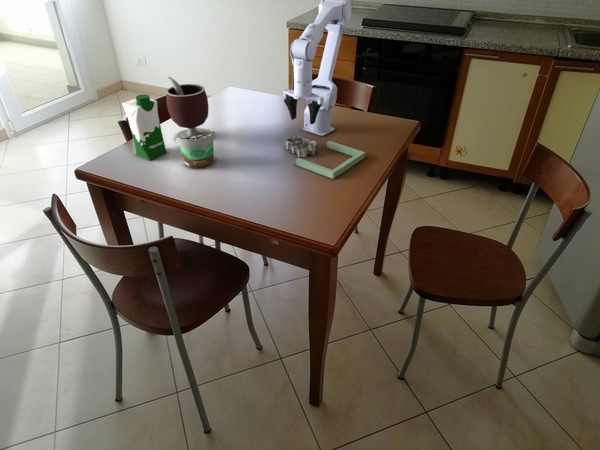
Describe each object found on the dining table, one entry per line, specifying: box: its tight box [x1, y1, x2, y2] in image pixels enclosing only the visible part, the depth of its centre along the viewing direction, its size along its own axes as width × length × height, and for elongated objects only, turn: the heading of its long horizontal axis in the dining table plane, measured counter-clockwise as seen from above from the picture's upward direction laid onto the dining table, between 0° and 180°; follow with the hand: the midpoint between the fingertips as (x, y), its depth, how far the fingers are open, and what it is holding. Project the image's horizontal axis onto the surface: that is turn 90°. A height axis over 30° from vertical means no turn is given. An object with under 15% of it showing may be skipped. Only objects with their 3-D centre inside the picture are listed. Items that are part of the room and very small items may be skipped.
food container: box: [175, 129, 216, 170], centre depth 133 cm, size 12×6×10 cm, turn 117°
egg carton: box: [284, 135, 318, 158], centre depth 143 cm, size 11×8×4 cm
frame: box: [295, 140, 366, 180], centre depth 137 cm, size 14×18×2 cm
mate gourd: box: [165, 76, 211, 140], centre depth 149 cm, size 16×14×20 cm
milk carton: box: [121, 94, 167, 161], centre depth 137 cm, size 9×9×20 cm
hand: (303, 121), depth 142 cm, fingers open, 7 cm apart
